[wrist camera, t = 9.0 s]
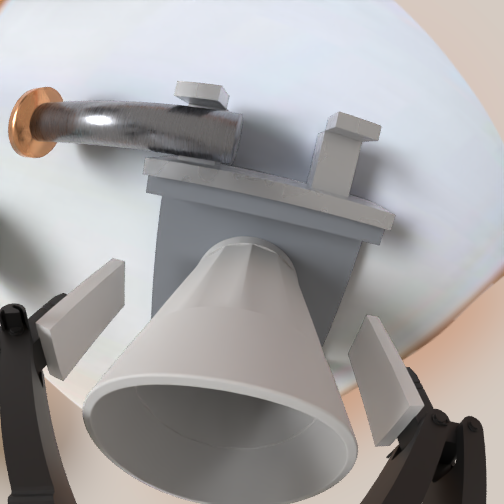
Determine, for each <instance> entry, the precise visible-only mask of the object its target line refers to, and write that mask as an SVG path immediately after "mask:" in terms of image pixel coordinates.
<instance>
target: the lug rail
mask: <svg viewBox="0 0 504 504" xmlns="http://www.w3.org/2000/svg"><path fill="white" fill-rule="evenodd" d="M174 96H176V97H178V98H179V99H181V100H183V101H185V102H187V103H188V104H189V105H188V106H191V107H199V108H206V109H213V110H220V111H226V112H229V111H228V110H227V105H228V101H229V97H230V96H229V95H228V93H227V92H226V91H225V89H224V88H223V87H222V86H221V85H213V84H205V83H196V82H185V81H177V85H176V89H175V93H174ZM380 131H381V126H380V125H377V124H375V123H372V122H369V121H366V120H363V119H360V118H358V117H355V116H352V115H348V114H345V113H342V112H337V113H335V114H334V115H332V116H330V117H329V118H328V120H327V124H326V129H325V131H323V132H321V133H318V137H317V142H316V146H315V150H314V154H313V159H312V163H311V167H310V171H309V175H308V179H307V183H305V182H301V181H297V180H292V179H288V178H284V177H280V176H276V175H271V174H267V173H262V172H258V171H253V170H249V169H244V168H239V167H234V166H229V165H224V164H222V163H221V162H215V161H210V160H204V159H199V158H193V157H187V156H181V155H178V156H160V157H147V158H145V164H144V170H143V174H144V175H150V176H156V177H162V178H168V179H174V180H179V181H185V182H190V183H196V184H201V185H206V186H211V187H216V188H221V189H226V190H231V191H236V192H240V193H245V194H249V195H254V196H259V197H263V198H267V199H272V200H276V201H280V202H285V203H289V204H293V205H297V206H301V207H305V208H309V209H313V210H317V211H321V212H325V213H329V214H333V215H336V216H340V217H344V218H348V219H351V220H355V221H359V222H362V223H366V224H369V225H373V226H376V227H380V228H383V229H387V230H390V231H391V228H392V225H393V221H394V218H395V214H393V213H391V212H389V211H388V210H386V209H384V208H382V207H380V206H378V205H377V204H375V203H373V202H371V201H369V200H366V199H362V198H359V197H356V196H352V195H349V192H350V189H351V185H352V181H353V177H354V173H355V169H356V165H357V161H358V157H359V153H360V148H361V144H362V142H369V141H378V140H379V135H380Z"/></svg>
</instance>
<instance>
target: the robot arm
mask: <svg viewBox="0 0 504 504" xmlns="http://www.w3.org/2000/svg"><path fill="white" fill-rule="evenodd" d="M124 284H125V261H121V260H118V259H114V258H113V259H111V260H110V261H109V262H107V263H106V264H105V265H104V266H102V267H101V268H100V269H98V270H97V271H96V272H95V273H93V274H92V275H91V276H90V277H88V278H87V279H86V280H85V281H83V282H82V283H81V284H80V285H79V286H77V287H76V288H75V289H74V290H73V291H71V292H70V293H69V294H68V295H67V294H65V293H62V294H60V295H57V296H55V297H53V298H52V299H51V300H50V301H49V302H48V303H46V304H45V305H44V306H43V307H42V308H40V309H39V310H38V311H37V312H36V313H34V314H33V315H32V316H31V317H30V318H29V319H28V318H27V314H26V310H25V308H24V307H23V306H22V305H20V304H8V305H6V306H4V307H2V308H1V309H0V324H1V327H0V417H1V429H2V438H3V447H4V453H5V460H6V465H7V471H8V476H9V481H10V484H11V490H12V493H11V495H10V496H9V497H8V504H77V503H76V501H75V498H74V496H73V493H72V490H71V488H70V485H69V482H68V480H67V476H66V473H65V470H64V467H63V465H62V461H61V457H60V454H59V450H58V446H57V443H56V439H55V435H54V431H53V426H52V422H51V417H50V411H49V406H48V400H47V394H46V387H45V380H44V374H43V371H42V369H43V368H44V367H45V366H46V365H47V367H48V370H49V373H50V375H52V376H54V377H56V378H58V379H60V380H62V381H64V380H65V378H66V377H67V376H68V374H69V373H70V372H71V370H72V369H73V368H74V367H75V365H76V364H77V363H78V361H79V360H80V359H81V358H82V356H83V355H84V354H85V353H86V351H87V350H88V349H89V347H90V346H91V345H92V344H93V342H94V341H95V340H96V339H97V338H98V336H99V335H100V334H101V333H102V331H103V330H104V329H105V328H106V327H107V325H108V324H109V323H110V322H111V321H112V319H113V318H114V317H115V316H116V315H117V313H118V312H119V311H120V310H121V309H122V308H123V306H124V305H125V304H124ZM348 355H349V358H350V361H351V365H352V368H353V371H354V374H355V377H356V380H357V384H358V387H359V390H360V394H361V397H362V400H363V404H364V407H365V411H366V414H367V418H368V421H369V425H370V429H371V432H372V436H373V439H374V444H375V446H390V445H391V444H392V443H393V442H394V440H395V439H396V438H398V441H399V445H398V446H397V447H396V448H395V449H394V450H393V451H392V452H391V453H390V454H389V455H388V456H387V458H389V457H390V458H389V460H388V462H387V463H386V465H385V467H384V469H383V470H382V472H381V473H380V475H379V477H378V478H377V480H376V481H375V483H374V484H373V486H372V487H371V489H370V490H369V492H368V493H367V495H366V496H365V498H364V499H363V501H362V502H361V503H360V504H486V456H485V443H484V434H483V428H482V425H481V423H480V421H478V420H477V419H476V418H474V417H472V416H468V417H465V418H464V419H463V420H462V422H461V423H455V422H450V420H449V418H448V416H447V415H446V414H445V413H444V412H442V411H441V410H438V409H433V407H432V404H431V402H430V400H429V398H428V396H427V395H426V392H425V390H424V389H423V387H422V385H421V383H420V381H419V379H418V377H417V375H416V374H415V373H414V372H413V371H412V369H410V367H405V365H404V363H403V361H402V359H401V357H400V355H399V353H398V352H397V350H396V348H395V346H394V344H393V342H392V340H391V339H390V337H389V335H388V333H387V331H386V329H385V328H384V326H383V324H382V322H381V321H380V319H379V317H377V316H371V315H366V317H365V319H364V321H363V324H362V326H361V328H360V330H359V332H358V334H357V336H356V339H355V341H354V343H353V345H352V347H351V349H350V351H349V353H348ZM455 460H456V463H455Z"/></svg>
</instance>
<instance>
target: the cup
mask: <svg viewBox="0 0 504 504" xmlns="http://www.w3.org/2000/svg"><path fill="white" fill-rule="evenodd" d="M83 420H84V423H85V426H86V429H87V431H88V433H89V435H90V437H91V438H92V440H93V442H94V443H95V444H96V446H97V447H98V448H99V449H100V450H101V452H102V453H103V454H104V455H105V456H106V457H107V458H108V459H110V460H111V461H112V462H113V463H114V464H115V465H116V466H118V467H119V468H120V469H122V470H123V471H124V472H126V473H127V474H129V475H130V476H132V477H134V478H135V479H137V480H139V481H140V482H142V483H144V484H146V485H148V486H150V487H152V488H155V489H157V490H159V491H161V492H164V493H166V494H169V495H172V496H175V497H178V498H181V499H185V500H188V501H192V502H196V503H201V504H290V503H294V502H298V501H301V500H304V499H307V498H310V497H313V496H315V495H317V494H320V493H322V492H324V491H326V490H327V489H329V488H331V487H332V486H334V485H335V484H337V483H338V482H339V481H341V480H342V479H343V478H344V477H345V476H346V475H347V474H348V473H349V471H350V470H351V469H352V467H353V466H354V464H355V461H356V458H357V453H358V445H357V441H356V438H355V435H354V432H353V429H352V427H351V424H350V421H349V418H348V416H347V413H346V410H345V407H344V404H343V401H342V399H341V396H340V393H339V391H338V388H337V385H336V382H335V380H334V377H333V374H332V372H331V369H330V366H329V364H328V362H327V360H326V358H325V355H324V352H323V350H322V347H321V344H320V341H319V338H318V336H317V333H316V330H315V327H314V325H313V322H312V319H311V316H310V314H309V311H308V308H307V305H306V303H305V300H304V297H303V295H302V292H301V289H300V287H299V283H298V278H297V274H296V270H295V268H294V266H293V264H292V262H291V260H290V259H289V257H288V256H287V255H286V254H285V253H284V252H283V251H282V250H281V249H280V248H278V247H277V246H276V245H274V244H272V243H270V242H268V241H266V240H263V239H260V238H256V237H249V236H240V237H233V238H229V239H226V240H223V241H221V242H219V243H217V244H216V245H214V246H213V247H212V248H210V249H209V250H208V251H207V252H206V253H205V255H204V256H203V257H202V259H201V260H200V262H199V264H198V265H197V266H196V268H195V269H194V270H193V271H192V272H191V273H190V274H189V276H188V277H187V278H186V279H185V280H184V281H183V283H182V284H181V285H180V286H179V287H178V288H177V290H176V291H175V292H174V293H173V294H172V295H171V297H170V298H169V299H168V300H167V301H166V302H165V304H164V305H163V306H162V307H161V308H160V310H159V311H158V312H157V313H156V314H155V316H154V317H153V318H152V319H151V320H150V322H149V323H148V324H147V325H146V326H145V328H144V329H143V330H142V331H141V332H140V333H139V334H138V335H137V336H136V338H135V339H134V340H133V341H132V342H131V343H130V345H129V346H128V347H127V348H126V349H125V350H124V352H123V353H122V354H121V355H120V356H119V357H118V359H117V360H116V361H115V362H114V363H113V365H112V366H111V367H110V368H109V369H108V371H107V372H106V373H105V374H104V375H103V377H102V378H101V379H100V380H99V381H98V383H97V384H96V385H95V386H94V387H93V389H92V390H91V391H90V392H89V393H88V395H87V397H86V398H85V401H84V404H83Z"/></svg>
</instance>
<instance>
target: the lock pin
mask: <svg viewBox="0 0 504 504" xmlns="http://www.w3.org/2000/svg"><path fill="white" fill-rule="evenodd" d="M242 125H243V115H242V114H238V113H232V112H226V111H220V110H213V109H206V108H199V107H191V106H182V105H172V104H161V103H148V102H129V101H68V102H63V99H62V97H61V95H60V94H59V93H58V91H56V90H55V89H53V88H51V87H43V88H36V89H32V90H29V91H27V92H26V93H24V94H23V95H22V96H21V97H20V98H19V100H18V101H17V102H16V104H15V106H14V108H13V110H12V112H11V116H10V119H9V126H8V133H9V140H10V143H11V146H12V148H13V149H14V151H15V152H16V153H17V154H19V155H20V156H23V157H32V158H39V157H43V156H45V155H46V154H48V153H49V152H50V151H51V150H52V149H53V148H54V146H55V145H56V143H57V142H62V143H77V144H90V145H102V146H112V147H121V148H130V149H138V150H146V151H153V152H161V153H168V154H174V155H181V156H187V157H193V158H199V159H204V160H210V161H215V162H221V163H226V164H231V165H232V164H233V162H234V159H235V156H236V153H237V150H238V146H239V141H240V137H241V131H242Z"/></svg>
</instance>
